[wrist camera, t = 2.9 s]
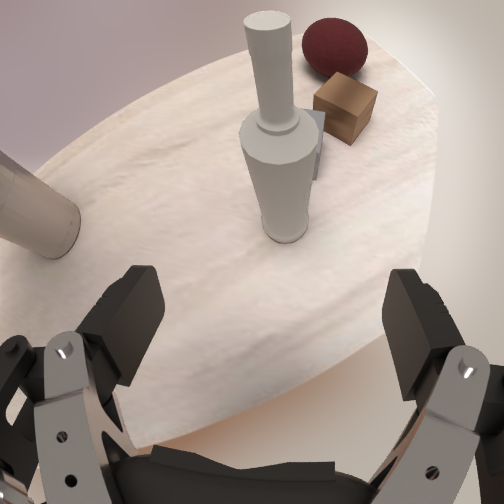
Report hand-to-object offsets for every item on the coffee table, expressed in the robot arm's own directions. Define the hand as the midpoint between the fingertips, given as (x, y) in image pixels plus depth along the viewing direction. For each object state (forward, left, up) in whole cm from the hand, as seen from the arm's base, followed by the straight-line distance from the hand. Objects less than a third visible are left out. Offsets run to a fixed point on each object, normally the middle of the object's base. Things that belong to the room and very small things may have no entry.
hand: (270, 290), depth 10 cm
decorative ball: (-6, +38, -22) cm, 45 cm away
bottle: (-4, +10, -22) cm, 25 cm away
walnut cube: (-2, +27, -22) cm, 35 cm away
